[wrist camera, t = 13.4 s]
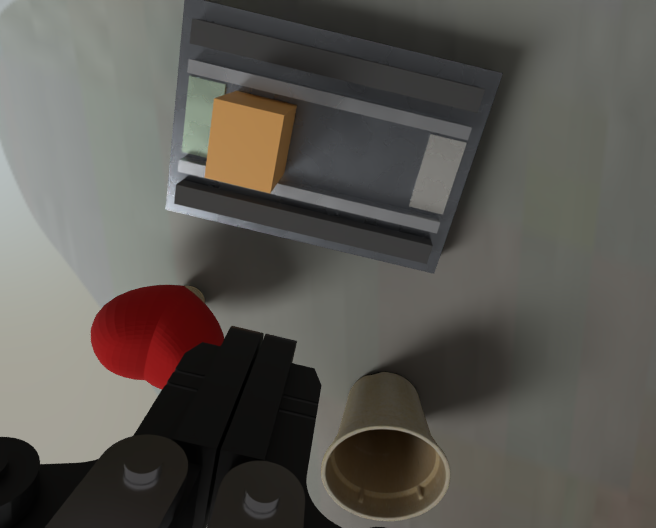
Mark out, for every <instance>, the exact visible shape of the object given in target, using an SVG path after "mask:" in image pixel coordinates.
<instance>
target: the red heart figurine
mask: <svg viewBox="0 0 656 528" xmlns="http://www.w3.org/2000/svg"><path fill="white" fill-rule="evenodd" d="M223 341H224V335H223V332H222V330H221V327H220V325H219V323H218V321H217V319H216V318H215V316H214V314H213V313H212V312H211V311H210V309H209V308H208V307H207V305H206V304H205V299H204V296H203V294H202V293H201V292H200V291H199V290H198V289H197V288H195V287H192V286H180V285H156V286H148V287H142V288H139V289H135V290H131V291H128V292H126V293H124V294H121V295H119V296H117V297H115V298H114V299H112V300H111V301H109V302H108V303H107V304H105V305H104V306H103V308H102V309H101V310H100V311H99V312H98V314H97V315H96V317H95V319H94V322H93V324H92V327H91V343H92V347H93V350H94V353H95V354H96V356H97V358H98V359H99V361H100V362H101V364H102V365H104V367H106V368H107V369H108V370H109V371H111V372H113V373H115V374H117V375H120V376H123V377H126V378H131V379H137V380H146V381H147V382H148V383H150V384H151V385H153V386H155V387H157V388H159V389H163V387H164V386H165V385H166V384H167V381H168V379H169V378H170V376H171V375H172V373H173V372H174V371H175V368H176V367H177V365H178V363H179V362H180V360H181V359H182V357H183V355H184V354H185V353H186V352H187V351H189V350H191V349H192V348H194V347H195V346H197V345H198V344H200V343H202V342H205V343H209V344H213V345H217V346H221V345H222V343H223Z"/></svg>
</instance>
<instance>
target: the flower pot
mask: <svg viewBox="0 0 656 528" xmlns="http://www.w3.org/2000/svg"><path fill="white" fill-rule="evenodd" d="M321 476H322V482H323V484H324V487H325V489H326V491H327V492H328V494H329V495H330V497H331V498H332V499H333V500H334V501H335V502H336V503H337V504H338V505H339V506H341V507H342V508H344V509H345V510H347V511H348V512H350V513H353V514H355V515H356V516H361V517H364V518H368V519H372V520H378V521H399V520H405V519H409V518H413V517H416V516H419V515H421V514H423V513H425V512H427V511H429V510H430V509H432V508H433V507H434V506H436V505H437V504H438V503H439V502H440V500H441V499H442V498H443V496H444V495H445V493H446V491H447V489H448V487H449V483H450V476H451V474H450V467H449V463H448V460H447V458H446V456H445V454H444V452H443V451H442V449H441V448H440V447H439V446H438V445H437V443H436V442H435V440H434V439H433V437H432V436H431V434H430V431H429V428H428V425H427V422H426V419H425V416H424V413H423V410H422V407H421V403H420V400H419V396H418V393H417V391H416V389H415V388H414V386H413V385H412V384H411V383H410V382H409V381H408V380H407V379H405V378H403V377H401V376H399V375H397V374H393V373H389V372H381V373H378V374H374V375H369V376H364V377H362V378H361V379H359V380H358V381H357V382H356V383H355V384H354V385H353V386H352V388H351V390H350V392H349V395H348V400H347V403H346V407H345V411H344V414H343V418H342V421H341V425H340V428H339V432H338V435H337V436H336V438H335V439H334V441H333V443H332V444H331V445H330V446H329V448H328V449H327V451H326V453H325V455H324V458H323V461H322V466H321Z"/></svg>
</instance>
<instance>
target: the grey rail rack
mask: <svg viewBox="0 0 656 528" xmlns="http://www.w3.org/2000/svg"><path fill="white" fill-rule="evenodd" d="M190 44H194V45H198V46H203V47H207V48H211V49H215V50H219V51H223V52H227V53H231V54H236V55H240V56H244V57H248V58H252V59H256V60H260V61H264V62H269V63H273V64H277V65H281V66H285V67H289V68H293V69H297V70H302V71H306V72H310V73H314V74H318V75H322V76H326V77H330V78H335V79H339V80H343V81H347V82H351V83H355V84H359V85H363V86H367V87H372V88H376V89H380V90H384V91H388V92H392V93H396V94H400V95H405V96H409V97H413V98H417V99H421V100H425V101H429V102H433V103H438V104H442V105H446V106H450V107H454V108H458V109H462V110H466V111H471V112H475V113H478V110H479V107H480V104H481V101H482V98H483V95H484V92H485V89H483V88H480V87H476V86H472V85H467V84H463V83H459V82H455V81H451V80H447V79H443V78H439V77H435V76H430V75H426V74H422V73H418V72H414V71H410V70H406V69H402V68H398V67H393V66H389V65H385V64H381V63H377V62H373V61H369V60H365V59H361V58H356V57H352V56H348V55H344V54H340V53H336V52H332V51H328V50H323V49H319V48H315V47H311V46H307V45H303V44H299V43H295V42H291V41H286V40H282V39H278V38H274V37H270V36H266V35H262V34H258V33H254V32H249V31H245V30H241V29H237V28H233V27H229V26H225V25H221V24H217V23H212V22H208V21H204V20H200V19H194V18H192V24H191V34H190ZM174 204H177V205H181V206H185V207H190V208H194V209H198V210H202V211H206V212H211V213H215V214H219V215H223V216H227V217H232V218H236V219H240V220H244V221H248V222H252V223H257V224H261V225H265V226H269V227H273V228H278V229H282V230H286V231H290V232H294V233H298V234H303V235H307V236H311V237H315V238H319V239H324V240H328V241H332V242H336V243H340V244H344V245H349V246H353V247H357V248H361V249H365V250H370V251H374V252H378V253H382V254H386V255H391V256H395V257H399V258H403V259H407V260H411V261H416V262H420V263H424V264H427V262H428V259H429V256H430V253H431V250H432V247H433V245H432V241H431V239H428V238H424V237H419V236H415V235H411V234H407V233H403V232H399V231H394V230H390V229H386V228H382V227H378V226H374V225H369V224H365V223H361V222H357V221H353V220H348V219H344V218H340V217H336V216H332V215H328V214H323V213H319V212H315V211H311V210H307V209H303V208H298V207H294V206H290V205H286V204H282V203H277V202H273V201H269V200H265V199H261V198H257V197H252V196H248V195H244V194H240V193H236V192H232V191H227V190H223V189H219V188H215V187H211V186H207V185H202V184H198V183H194V182H190V181H186V180H182V181H180V182H179V183H177V184H176V189H175V199H174Z"/></svg>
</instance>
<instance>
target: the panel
mask: <svg viewBox="0 0 656 528" xmlns="http://www.w3.org/2000/svg"><path fill="white" fill-rule="evenodd" d="M192 18H194V19H200V20H204V21H208V22H212V23H217V24H221V25H225V26H229V27H233V28H237V29H241V30H245V31H249V32H254V33H258V34H262V35H266V36H270V37H274V38H278V39H282V40H286V41H291V42H295V43H299V44H303V45H307V46H311V47H315V48H319V49H323V50H328V51H332V52H336V53H340V54H344V55H348V56H352V57H356V58H361V59H365V60H369V61H373V62H377V63H381V64H385V65H389V66H393V67H398V68H402V69H406V70H410V71H414V72H418V73H422V74H426V75H430V76H435V77H439V78H443V79H447V80H451V81H455V82H459V83H463V84H467V85H472V86H476V87H480V88H483V89H485V92H484V95H483V98H482V101H481V104H480V107H479V110H478V113H475V112H471V111H466V110H462V109H458V108H454V107H450V106H446V105H442V104H438V103H433V102H429V101H425V100H421V99H417V98H413V97H409V96H405V95H400V94H396V93H392V92H388V91H384V90H380V89H376V88H372V87H367V86H363V85H359V84H355V83H351V82H347V81H343V80H339V79H335V78H330V77H326V76H322V75H318V74H314V73H310V72H306V71H302V70H297V69H293V68H289V67H285V66H281V65H277V64H273V63H269V62H264V61H260V60H256V59H252V58H248V57H244V56H240V55H236V54H231V53H227V52H223V51H219V50H215V49H211V48H207V47H203V46H198V45H194V44H190V34H191V24H192ZM502 74H503V73H500V72H496V71H492V70H488V69H484V68H480V67H476V66H471V65H467V64H463V63H459V62H455V61H451V60H447V59H443V58H439V57H434V56H430V55H426V54H422V53H418V52H414V51H410V50H406V49H402V48H397V47H393V46H389V45H385V44H381V43H377V42H373V41H369V40H365V39H361V38H356V37H352V36H348V35H344V34H340V33H336V32H332V31H328V30H324V29H319V28H315V27H311V26H307V25H303V24H299V23H295V22H291V21H287V20H283V19H278V18H274V17H270V16H266V15H262V14H258V13H254V12H250V11H246V10H241V9H237V8H233V7H229V6H225V5H221V4H217V3H213V2H209V1H204V0H185V1H184V12H183V23H182V34H181V46H180V57H179V68H178V79H177V90H176V101H175V112H174V123H173V134H172V146H171V157H170V168H169V179H168V190H167V201H166V210H170V211H174V212H178V213H182V214H186V215H191V216H195V217H199V218H203V219H207V220H212V221H216V222H220V223H224V224H228V225H233V226H237V227H241V228H245V229H249V230H253V231H258V232H262V233H266V234H270V235H274V236H279V237H283V238H287V239H291V240H295V241H300V242H304V243H308V244H312V245H316V246H321V247H325V248H329V249H333V250H337V251H341V252H346V253H350V254H354V255H358V256H362V257H367V258H371V259H375V260H379V261H383V262H388V263H392V264H396V265H400V266H404V267H408V268H413V269H417V270H421V271H425V272H429V273H434V272H435V269H436V266H437V263H438V260H439V258H440V255H441V252H442V249H443V246H444V243H445V240H446V237H447V234H448V231H449V228H450V226H451V223H452V220H453V217H454V214H455V211H456V208H457V205H458V202H459V199H460V196H461V194H462V191H463V188H464V185H465V182H466V179H467V176H468V173H469V170H470V167H471V165H472V162H473V159H474V156H475V153H476V150H477V147H478V144H479V141H480V138H481V135H482V133H483V130H484V127H485V124H486V121H487V118H488V115H489V112H490V109H491V106H492V103H493V101H494V98H495V95H496V92H497V89H498V86H499V83H500V80H501V77H502ZM234 91H240V92H245V93H249V94H253V95H257V96H261V97H265V98H269V99H273V100H278V101H282V102H286V103H290V104H294V105H297V108H296V113H295V119H294V124H293V129H292V135H291V140H290V145H289V151H288V156H287V161H286V167H285V172H284V175H283V176H282V177H281V179H280V180H279V182H278V183H277V185H276V186H275V187H274V189H273V190H272V192H271V193H266V192H262V191H258V190H254V189H249V188H245V187H241V186H237V185H233V184H229V183H224V182H220V181H216V180H212V179H208V178H204V177H205V169H206V161H207V153H208V144H209V136H210V128H211V119H212V111H213V103H214V98H216V97H219V96H222V95H225V94H228V93H231V92H234ZM182 180H186V181H190V182H194V183H198V184H202V185H207V186H211V187H215V188H219V189H223V190H227V191H232V192H236V193H240V194H244V195H248V196H252V197H257V198H261V199H265V200H269V201H273V202H277V203H282V204H286V205H290V206H294V207H298V208H303V209H307V210H311V211H315V212H319V213H323V214H328V215H332V216H336V217H340V218H344V219H348V220H353V221H357V222H361V223H365V224H369V225H374V226H378V227H382V228H386V229H390V230H394V231H399V232H403V233H407V234H411V235H415V236H419V237H424V238H428V239H431V241H432V245H433V247H432V250H431V253H430V256H429V259H428V262H427V264H424V263H420V262H416V261H411V260H407V259H403V258H399V257H395V256H391V255H386V254H382V253H378V252H374V251H370V250H365V249H361V248H357V247H353V246H349V245H344V244H340V243H336V242H332V241H328V240H324V239H319V238H315V237H311V236H307V235H303V234H298V233H294V232H290V231H286V230H282V229H278V228H273V227H269V226H265V225H261V224H257V223H252V222H248V221H244V220H240V219H236V218H232V217H227V216H223V215H219V214H215V213H211V212H206V211H202V210H198V209H194V208H190V207H185V206H181V205H177V204H174V199H175V189H176V184H177V183H179V182H180V181H182Z"/></svg>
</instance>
